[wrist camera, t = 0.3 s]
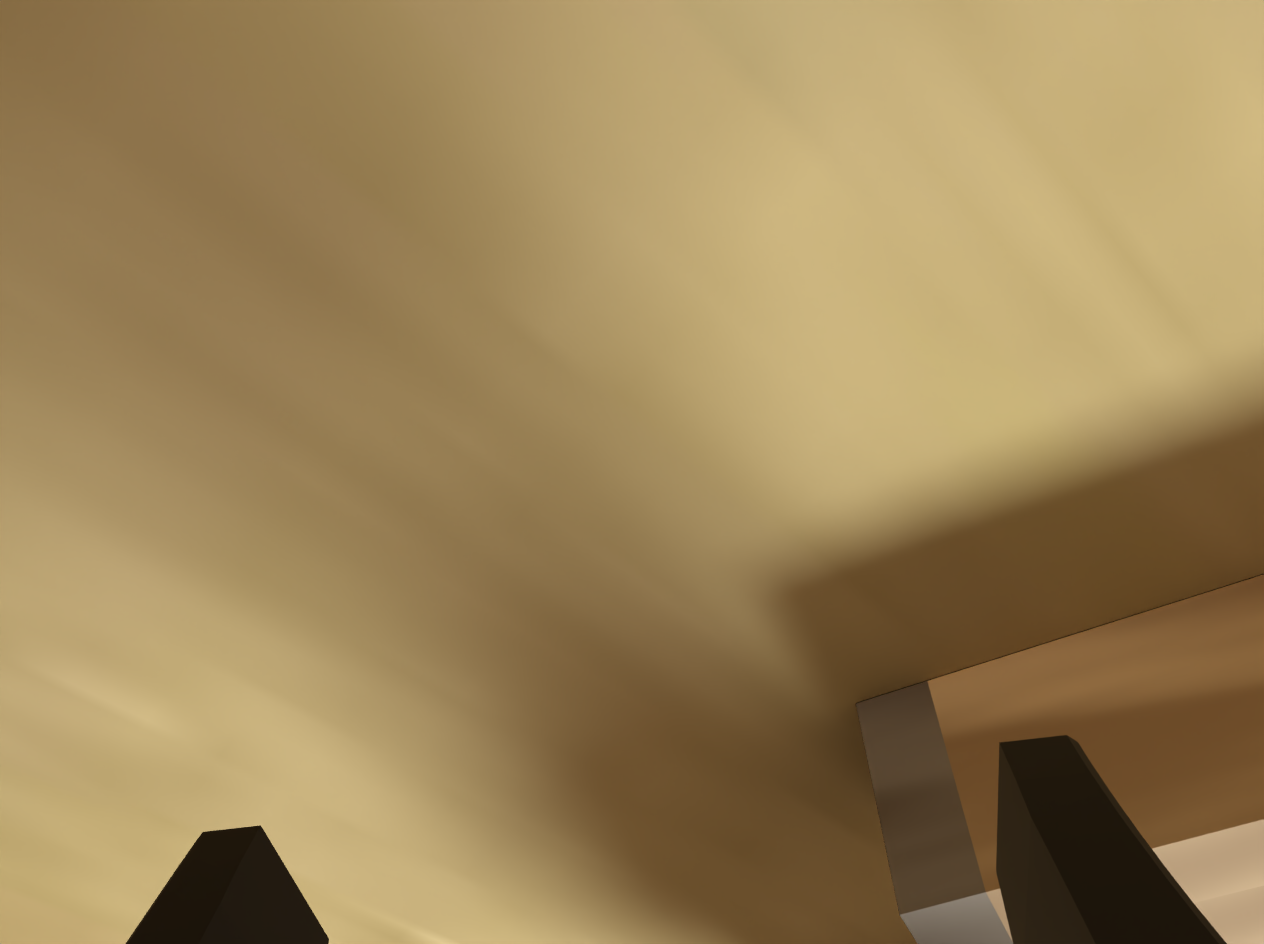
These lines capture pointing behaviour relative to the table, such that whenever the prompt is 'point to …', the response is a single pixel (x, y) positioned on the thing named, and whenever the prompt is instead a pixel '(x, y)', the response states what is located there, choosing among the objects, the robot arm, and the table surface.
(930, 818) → the tan wooden bar
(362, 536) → the table surface
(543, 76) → the table surface
